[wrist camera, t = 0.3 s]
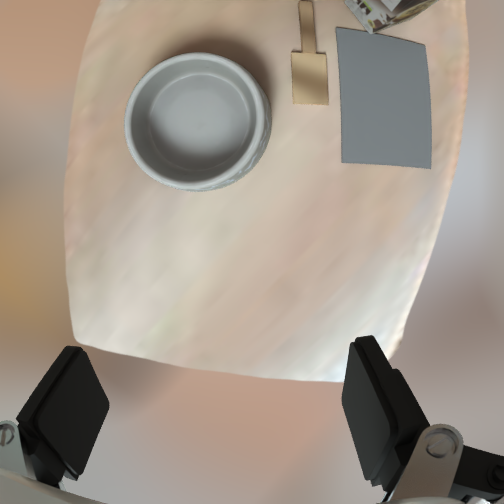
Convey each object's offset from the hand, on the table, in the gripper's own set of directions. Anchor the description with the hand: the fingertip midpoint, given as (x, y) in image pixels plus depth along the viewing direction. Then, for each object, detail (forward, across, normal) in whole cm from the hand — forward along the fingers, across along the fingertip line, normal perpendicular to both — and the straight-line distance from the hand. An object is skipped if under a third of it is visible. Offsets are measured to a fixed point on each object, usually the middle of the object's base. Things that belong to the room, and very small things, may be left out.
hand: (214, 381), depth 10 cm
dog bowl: (+31, +4, -11) cm, 34 cm away
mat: (+31, -21, -14) cm, 40 cm away
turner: (+31, -10, -19) cm, 38 cm away
